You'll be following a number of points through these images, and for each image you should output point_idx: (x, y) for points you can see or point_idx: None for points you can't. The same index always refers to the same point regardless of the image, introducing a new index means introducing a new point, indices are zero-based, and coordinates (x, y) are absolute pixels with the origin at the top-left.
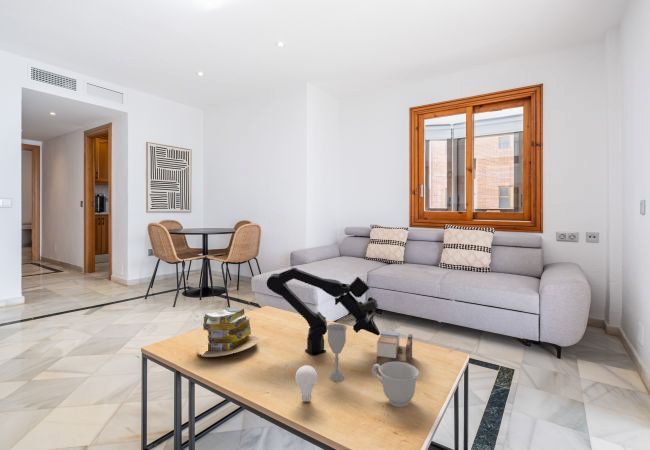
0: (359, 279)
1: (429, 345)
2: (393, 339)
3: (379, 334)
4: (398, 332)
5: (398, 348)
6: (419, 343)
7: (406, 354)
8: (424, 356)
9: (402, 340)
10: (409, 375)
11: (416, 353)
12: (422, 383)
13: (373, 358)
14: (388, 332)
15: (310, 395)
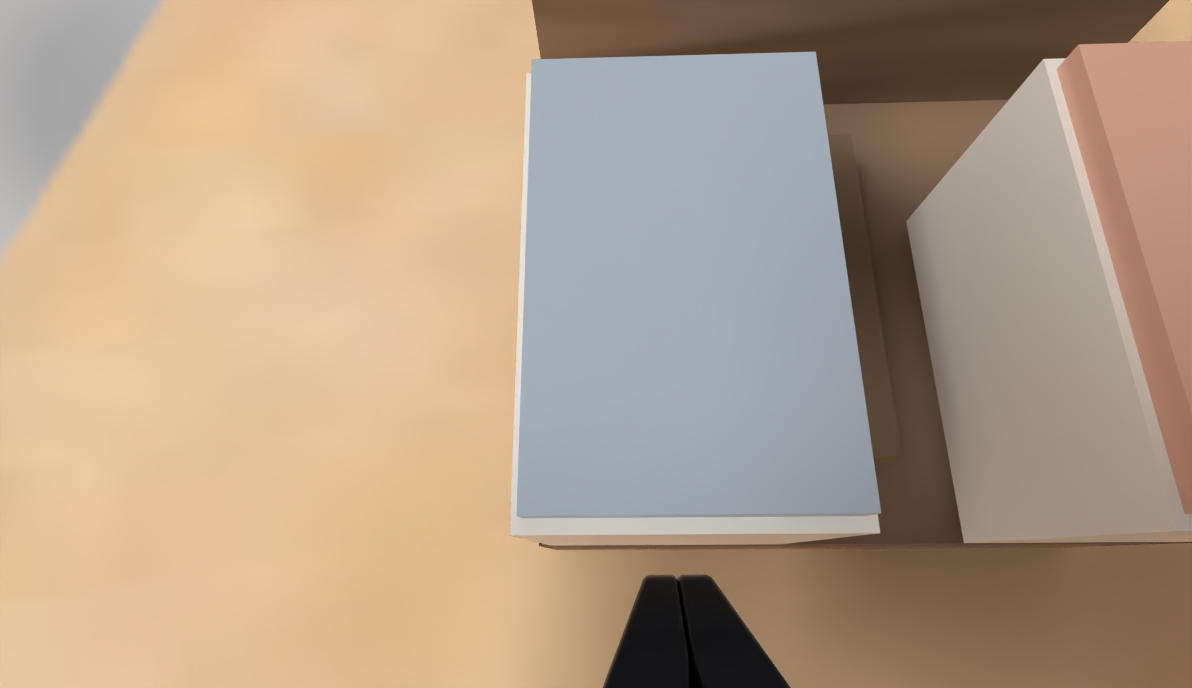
0: None
1: (162, 13)
2: (1143, 110)
3: (704, 586)
4: (578, 63)
5: (839, 184)
6: (107, 111)
7: (1143, 13)
8: (496, 42)
9: (9, 317)
10: None
11: (432, 121)
12: (1157, 23)
13: (786, 654)
14: (664, 299)
15: None
